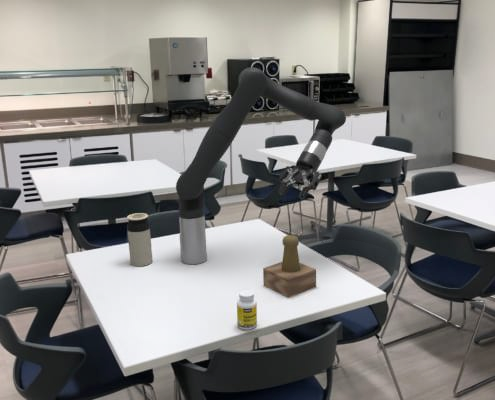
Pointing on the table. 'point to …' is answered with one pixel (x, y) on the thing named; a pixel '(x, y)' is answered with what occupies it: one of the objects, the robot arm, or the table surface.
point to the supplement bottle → (246, 310)
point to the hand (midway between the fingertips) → (290, 195)
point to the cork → (290, 254)
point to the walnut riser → (289, 279)
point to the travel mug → (139, 239)
